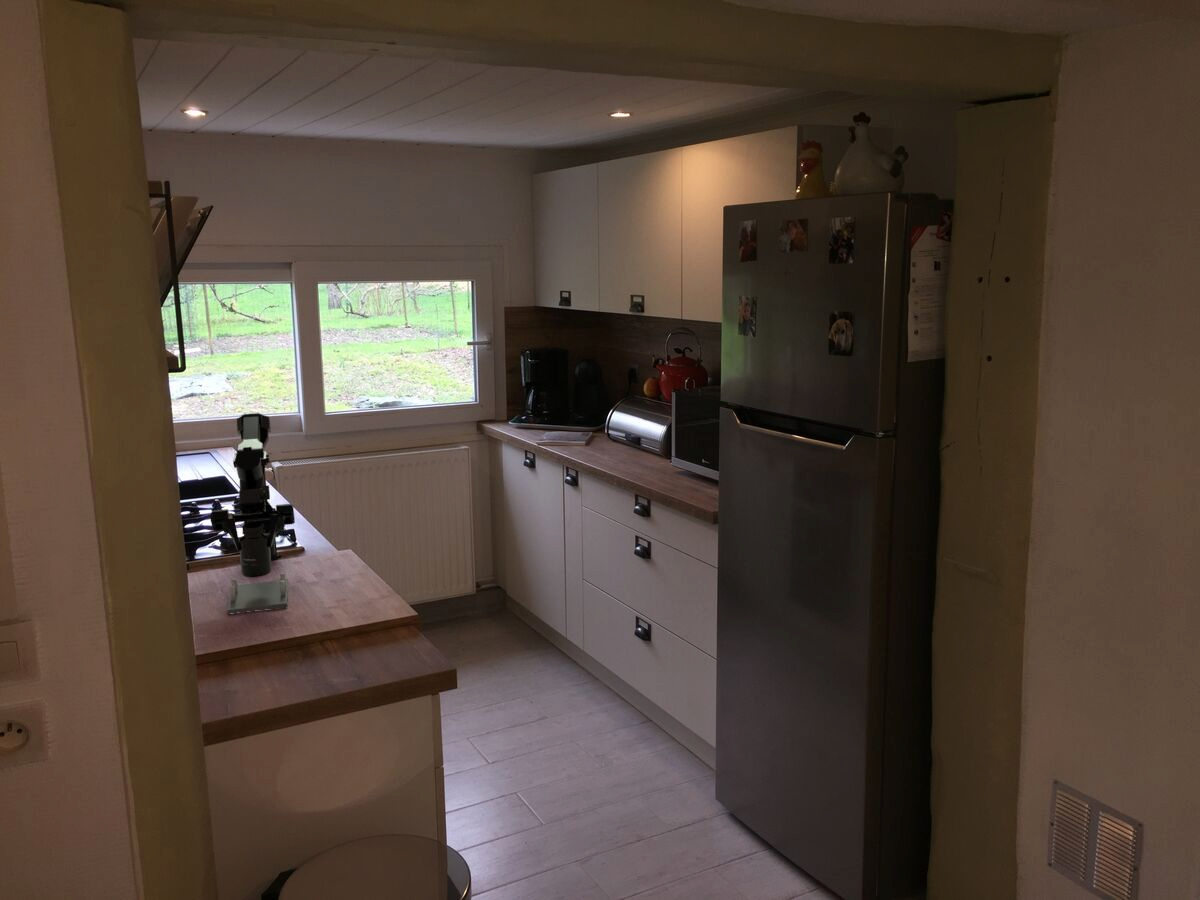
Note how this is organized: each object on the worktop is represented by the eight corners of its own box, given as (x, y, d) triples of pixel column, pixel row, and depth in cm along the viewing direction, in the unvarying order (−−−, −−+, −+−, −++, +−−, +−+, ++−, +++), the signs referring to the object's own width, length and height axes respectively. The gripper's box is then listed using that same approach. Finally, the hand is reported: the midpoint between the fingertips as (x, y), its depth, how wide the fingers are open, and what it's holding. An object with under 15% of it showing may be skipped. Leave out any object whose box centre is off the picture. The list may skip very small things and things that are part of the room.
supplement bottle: (244, 580, 226) (239, 530, 224) (239, 571, 232) (234, 523, 230) (274, 574, 230) (270, 526, 227) (269, 566, 235) (264, 519, 233)
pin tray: (233, 590, 239) (231, 571, 238) (288, 583, 242) (286, 565, 241) (227, 614, 222) (225, 595, 221) (287, 608, 225) (285, 588, 224)
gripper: (206, 477, 227) (207, 536, 219) (290, 471, 232) (293, 527, 224) (213, 502, 236) (214, 558, 228) (293, 495, 241) (296, 550, 233)
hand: (254, 548), depth 228 cm, fingers closed on supplement bottle, 7 cm apart
